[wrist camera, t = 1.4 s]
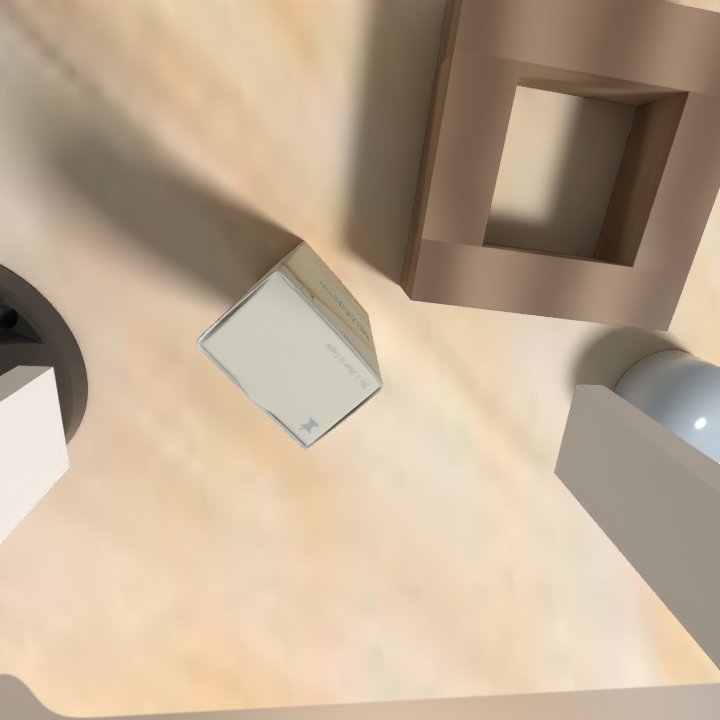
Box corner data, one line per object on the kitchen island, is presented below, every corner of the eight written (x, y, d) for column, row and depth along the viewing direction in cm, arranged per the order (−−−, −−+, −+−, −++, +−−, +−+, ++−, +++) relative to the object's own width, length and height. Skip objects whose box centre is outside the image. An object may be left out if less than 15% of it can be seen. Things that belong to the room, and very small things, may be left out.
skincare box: (369, 313, 29) (393, 389, 18) (317, 357, 30) (308, 457, 19) (301, 235, 27) (280, 264, 16) (247, 284, 28) (190, 345, 17)
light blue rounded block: (597, 436, 33) (631, 466, 30) (628, 344, 31) (669, 364, 27) (686, 444, 34) (730, 475, 30) (723, 355, 32) (775, 376, 28)
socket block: (400, 286, 29) (411, 300, 25) (447, -1, 24) (469, -37, 20) (625, 314, 30) (667, 331, 26) (712, 49, 25) (778, 24, 22)
